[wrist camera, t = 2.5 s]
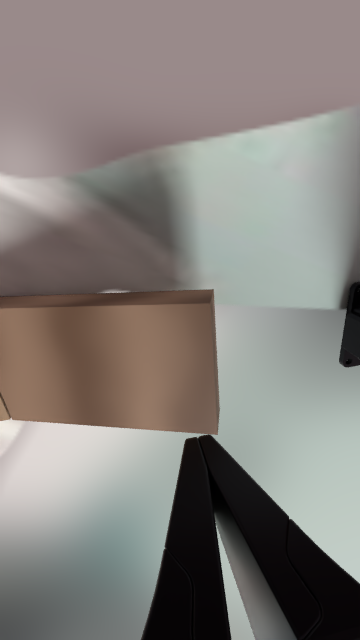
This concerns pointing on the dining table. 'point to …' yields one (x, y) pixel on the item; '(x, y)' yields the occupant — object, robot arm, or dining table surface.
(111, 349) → the tan flat wooden block
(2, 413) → the oak plank
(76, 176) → the dining table surface
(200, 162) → the dining table surface
